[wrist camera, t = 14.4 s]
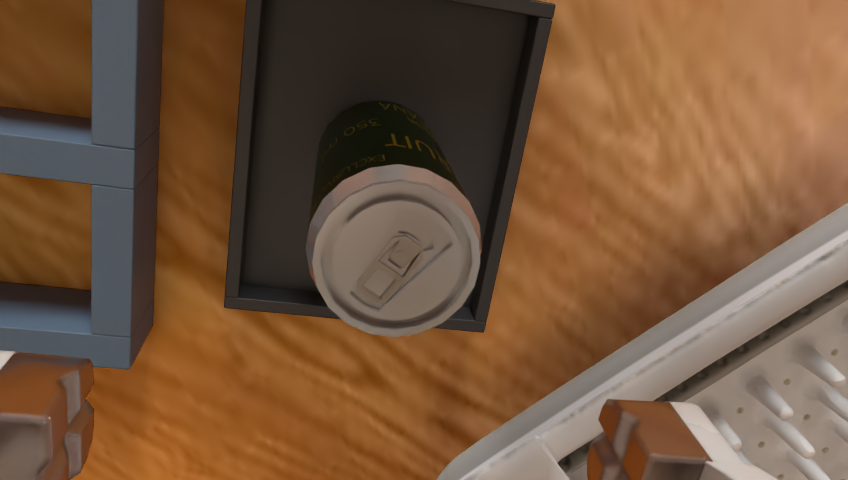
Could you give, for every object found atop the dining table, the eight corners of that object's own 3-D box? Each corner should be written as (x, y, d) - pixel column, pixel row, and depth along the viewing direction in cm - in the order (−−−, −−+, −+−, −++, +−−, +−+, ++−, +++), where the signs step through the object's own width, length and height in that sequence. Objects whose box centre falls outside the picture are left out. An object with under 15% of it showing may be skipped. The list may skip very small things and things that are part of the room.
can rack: (-107, -124, 26) (-180, -138, 23) (166, -76, 28) (139, -82, 24) (-69, 306, 32) (-121, 350, 29) (152, 326, 34) (130, 370, 30)
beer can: (388, 235, 33) (412, 373, 22) (292, 168, 31) (266, 281, 20) (461, 146, 32) (525, 244, 21) (365, 71, 30) (380, 135, 19)
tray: (255, -49, 29) (249, -50, 27) (542, 1, 31) (556, 4, 29) (230, 288, 34) (223, 308, 32) (476, 313, 36) (484, 333, 34)
